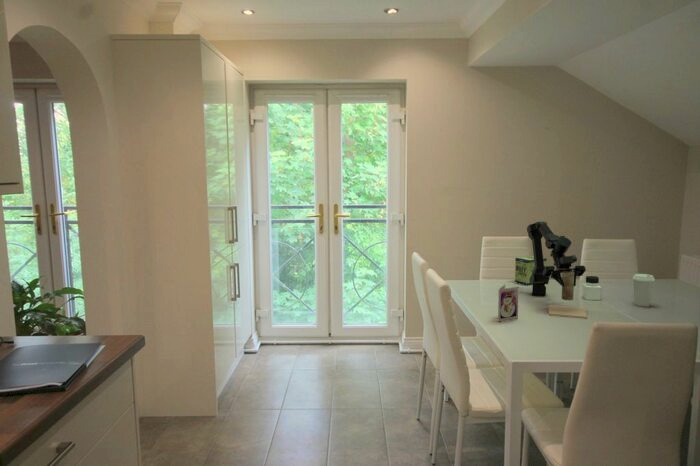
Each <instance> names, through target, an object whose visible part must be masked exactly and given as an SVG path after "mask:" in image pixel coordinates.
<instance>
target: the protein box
mask: <svg viewBox="0 0 700 466" xmlns="http://www.w3.org/2000/svg"><path fill="white" fill-rule="evenodd" d="M547 259H548V258H547V257H543V261H544V266H545V267H546V266H548V265H547ZM514 260H515V264H514V265H515V266H514V267H515V269H514V272H515V273H514V283H515V282H517V284H519V283H520V285H523V284H524V285H523V286H526V285H527V286H533V284H531V283H530V281H529V279H530V277H531V275H532V270H533V268H534V267H535V264H534V255H531V256H530V255H529V256H523V257H515V259H514ZM534 282H535V281H534Z"/></svg>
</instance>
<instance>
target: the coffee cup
mask: <svg viewBox="0 0 700 466" xmlns="http://www.w3.org/2000/svg"><path fill="white" fill-rule="evenodd" d="M631 279H632V281H633V297H634V299H633V301H634V305H635V306H638V307H645V308H648V307H650V306H651V302H652V296H653V295H652V294H653V288H654V282H655V281H656V279H655V277H654V275H653V274H648V273H636V274H634V275H633V276H632V278H631Z"/></svg>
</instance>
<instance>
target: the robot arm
mask: <svg viewBox="0 0 700 466" xmlns="http://www.w3.org/2000/svg"><path fill="white" fill-rule="evenodd" d="M526 231H527V236H528V237H529V238H530V240H531V245H532V251H533V252H532V253H533V255H532V256H534V264H535V267H534V268H533V270H532V275H531V277H530V279H529V281H530V283H531V284H533V285H532V291H531V292H532V293H531V295H532V296H539V297H546V294H547V287H546V285H549V281H550V279H553V280H555V282H557V283H558V284H559V285H560V286H561V287H562V286H563V287H564V283H563V280H562V272H563V271H572V272H574V287H576V285H577V284H576V283H577V278H578V277H582V276H584V274H585V272H586V271H587V269H586V266H585V265H575V266H574V268H571V267H572V264H574V263H576V262H577V261H578V258H577V256H576V254H572V255H566V253H567V252H568V250H569V248H570V247H571V245H572V240H570V239H569V238H568V237H566V236H565V235H557V234H555V233H554V232H553V231H552V229H551V228H550V227H549V225H548V223H547V222H546V221H536V222H534V223H531V224H528V226H527V227H526ZM542 238H544V240H545V241H544V244H545V247H546V248H547V249H548V250H551V251H550V257H552V259H553V265H546V267H545V266H544V261H543V258H544V253H543V245H542V244H543V243H542ZM534 281H535V282H534Z"/></svg>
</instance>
